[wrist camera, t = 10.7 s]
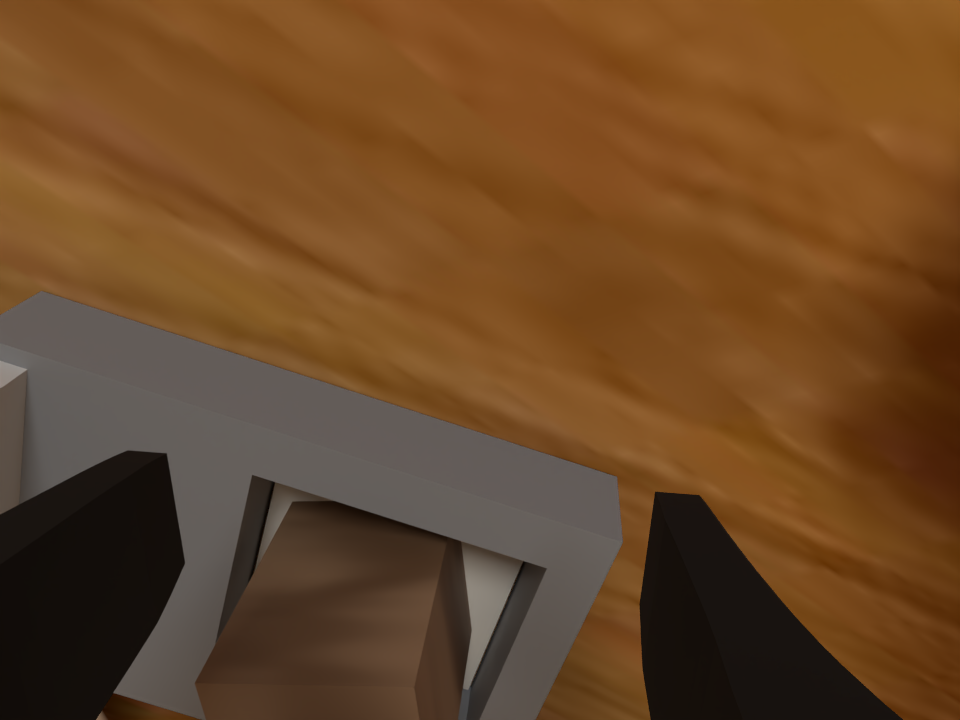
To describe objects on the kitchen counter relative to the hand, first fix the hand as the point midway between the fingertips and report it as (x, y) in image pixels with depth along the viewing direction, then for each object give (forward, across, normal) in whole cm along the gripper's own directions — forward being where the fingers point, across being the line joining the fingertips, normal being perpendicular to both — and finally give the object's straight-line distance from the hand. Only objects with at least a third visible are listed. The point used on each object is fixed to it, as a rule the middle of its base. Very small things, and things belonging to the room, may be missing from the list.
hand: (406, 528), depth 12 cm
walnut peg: (+10, +3, +9) cm, 14 cm away
